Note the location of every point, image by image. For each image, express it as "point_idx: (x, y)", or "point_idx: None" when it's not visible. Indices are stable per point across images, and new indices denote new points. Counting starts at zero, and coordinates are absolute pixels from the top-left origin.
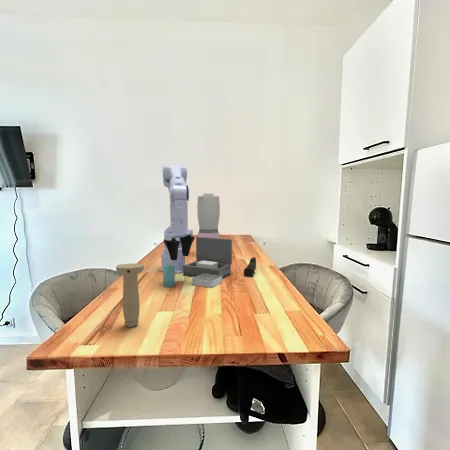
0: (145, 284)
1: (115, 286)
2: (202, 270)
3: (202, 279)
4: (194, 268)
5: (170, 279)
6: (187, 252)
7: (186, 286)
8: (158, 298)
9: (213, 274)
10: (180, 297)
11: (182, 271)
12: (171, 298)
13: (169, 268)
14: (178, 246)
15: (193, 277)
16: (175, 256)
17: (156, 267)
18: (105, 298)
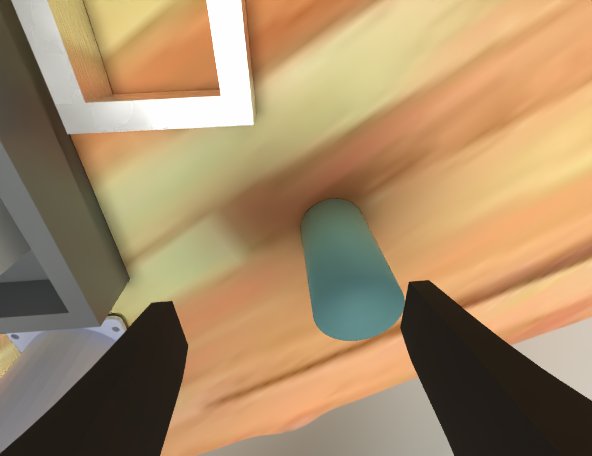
0: None
1: None
2: (36, 168)
3: (239, 6)
4: (67, 241)
5: (364, 226)
6: (154, 344)
7: (302, 128)
8: (564, 130)
9: (17, 7)
10: (534, 10)
11: None
12: (559, 57)
13: (392, 277)
14: (565, 452)
15: (233, 124)
16: (460, 314)
17: None
18: (575, 308)
